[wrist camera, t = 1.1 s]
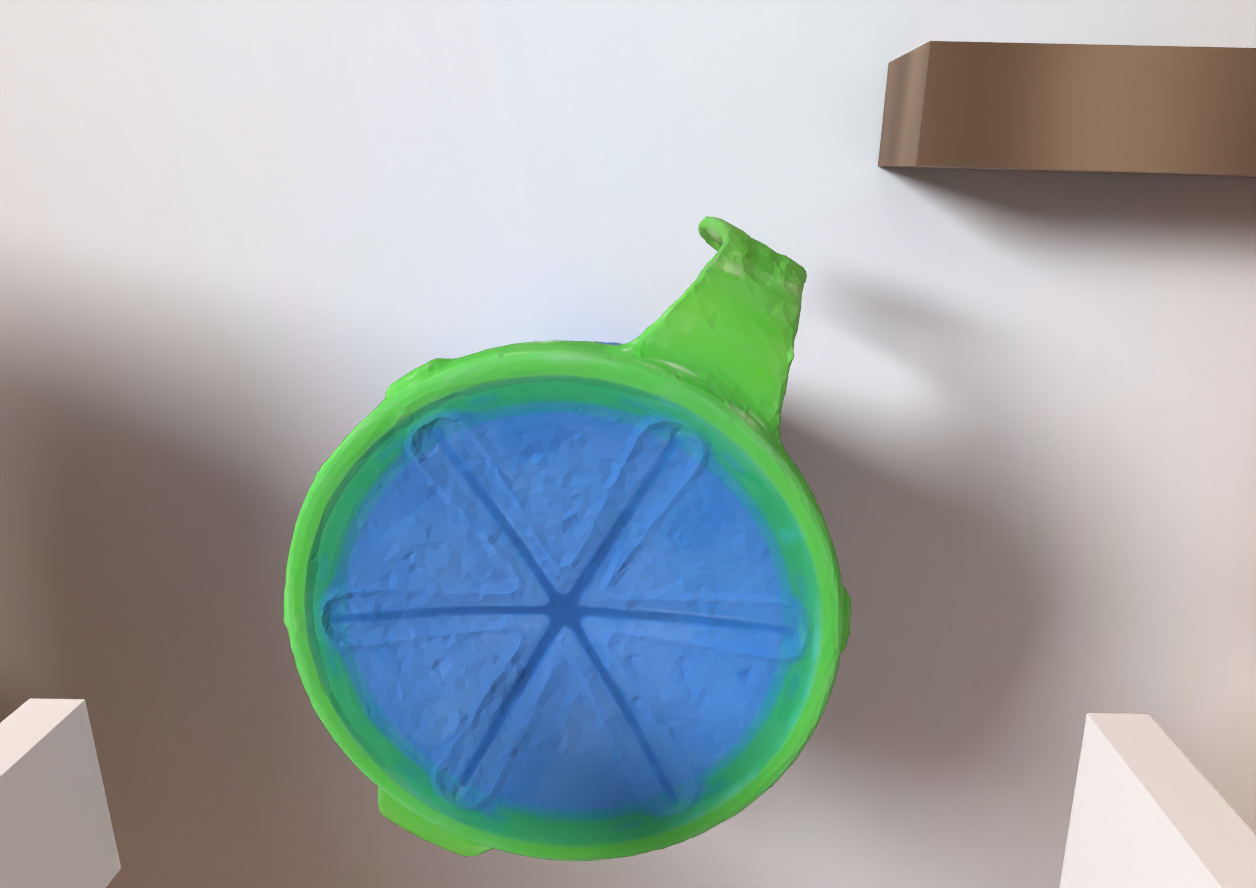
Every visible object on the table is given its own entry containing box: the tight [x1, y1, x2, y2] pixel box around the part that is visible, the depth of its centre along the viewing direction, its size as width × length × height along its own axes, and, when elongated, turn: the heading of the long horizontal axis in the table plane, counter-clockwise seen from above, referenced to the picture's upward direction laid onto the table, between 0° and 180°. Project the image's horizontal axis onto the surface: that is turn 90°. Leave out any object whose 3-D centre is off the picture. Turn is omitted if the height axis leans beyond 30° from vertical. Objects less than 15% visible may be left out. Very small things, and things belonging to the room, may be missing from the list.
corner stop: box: [878, 41, 1256, 177], centre depth 23 cm, size 16×16×4 cm
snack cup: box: [284, 217, 851, 861], centre depth 21 cm, size 16×10×10 cm
